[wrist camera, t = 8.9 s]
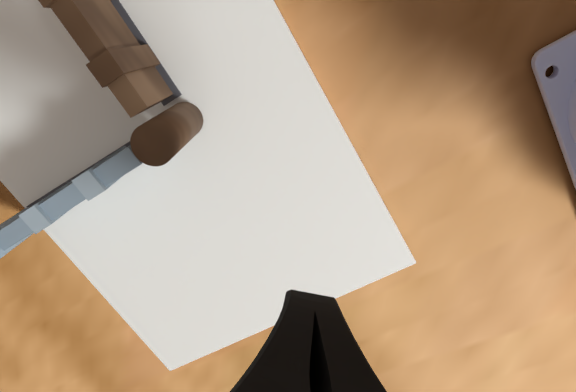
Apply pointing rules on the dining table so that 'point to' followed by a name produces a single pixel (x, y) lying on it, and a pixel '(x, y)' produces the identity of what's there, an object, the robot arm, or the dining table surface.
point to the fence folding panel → (66, 198)
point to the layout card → (195, 172)
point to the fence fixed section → (129, 77)
